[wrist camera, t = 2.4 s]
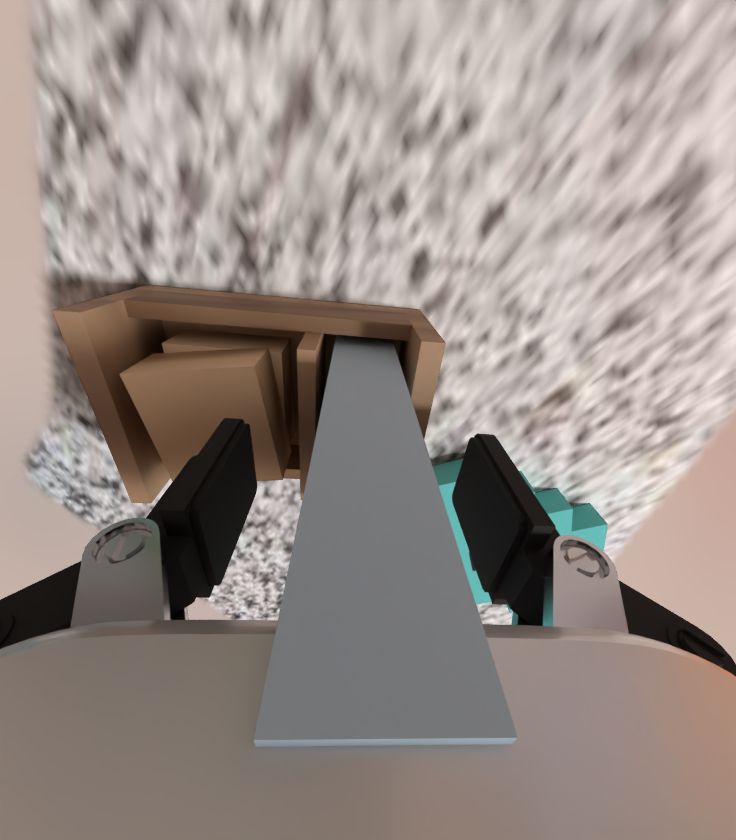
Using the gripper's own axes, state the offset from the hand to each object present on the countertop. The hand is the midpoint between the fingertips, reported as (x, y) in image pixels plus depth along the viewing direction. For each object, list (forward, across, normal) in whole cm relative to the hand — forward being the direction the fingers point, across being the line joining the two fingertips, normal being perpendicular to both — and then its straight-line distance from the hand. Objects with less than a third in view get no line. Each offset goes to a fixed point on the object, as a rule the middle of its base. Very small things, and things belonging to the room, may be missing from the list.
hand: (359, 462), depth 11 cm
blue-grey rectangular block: (+5, 0, 0) cm, 5 cm away
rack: (+6, +4, 0) cm, 7 cm away
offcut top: (+3, +6, 0) cm, 7 cm away
